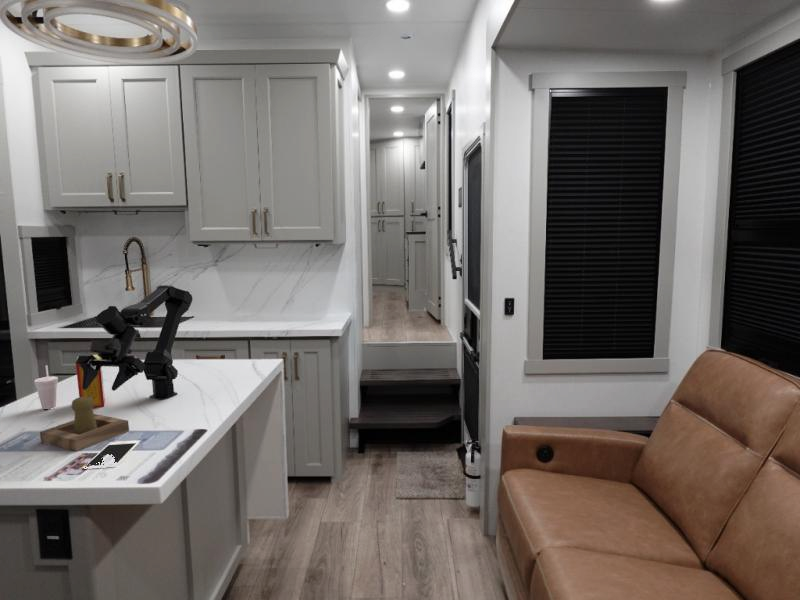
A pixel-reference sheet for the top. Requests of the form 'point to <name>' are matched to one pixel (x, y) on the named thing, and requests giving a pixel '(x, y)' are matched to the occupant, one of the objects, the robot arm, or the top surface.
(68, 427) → the walnut socket
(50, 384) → the smoothie
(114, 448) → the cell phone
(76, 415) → the cork
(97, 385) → the baking soda box
